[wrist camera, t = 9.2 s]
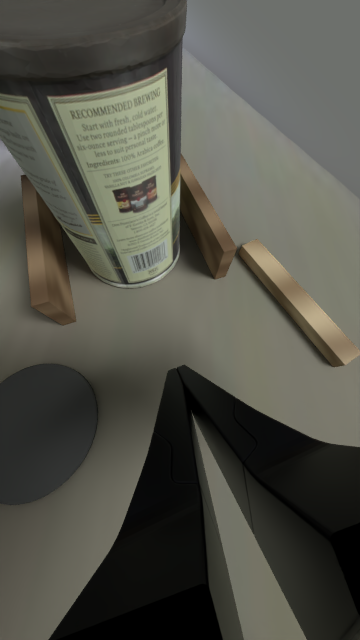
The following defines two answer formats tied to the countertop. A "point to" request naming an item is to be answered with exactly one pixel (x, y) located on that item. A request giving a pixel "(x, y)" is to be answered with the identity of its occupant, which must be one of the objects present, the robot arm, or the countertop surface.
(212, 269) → the walnut cubby
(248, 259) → the oak stirring stick
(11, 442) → the mat
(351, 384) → the countertop surface
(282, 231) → the countertop surface
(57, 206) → the coffee can
